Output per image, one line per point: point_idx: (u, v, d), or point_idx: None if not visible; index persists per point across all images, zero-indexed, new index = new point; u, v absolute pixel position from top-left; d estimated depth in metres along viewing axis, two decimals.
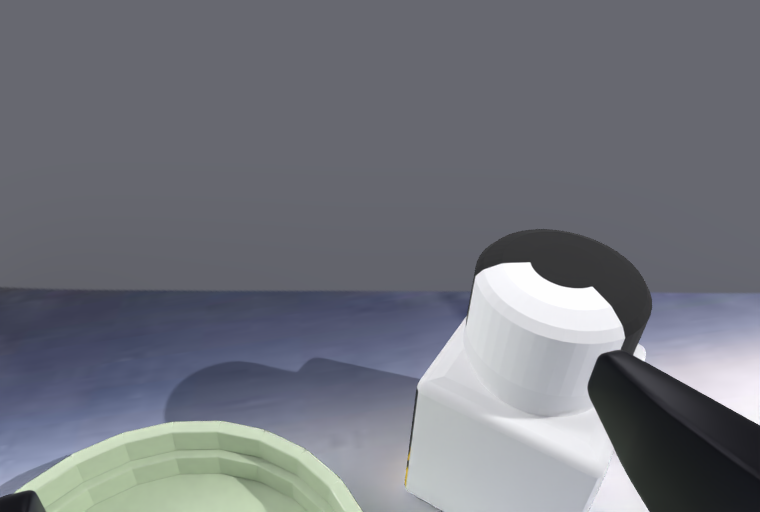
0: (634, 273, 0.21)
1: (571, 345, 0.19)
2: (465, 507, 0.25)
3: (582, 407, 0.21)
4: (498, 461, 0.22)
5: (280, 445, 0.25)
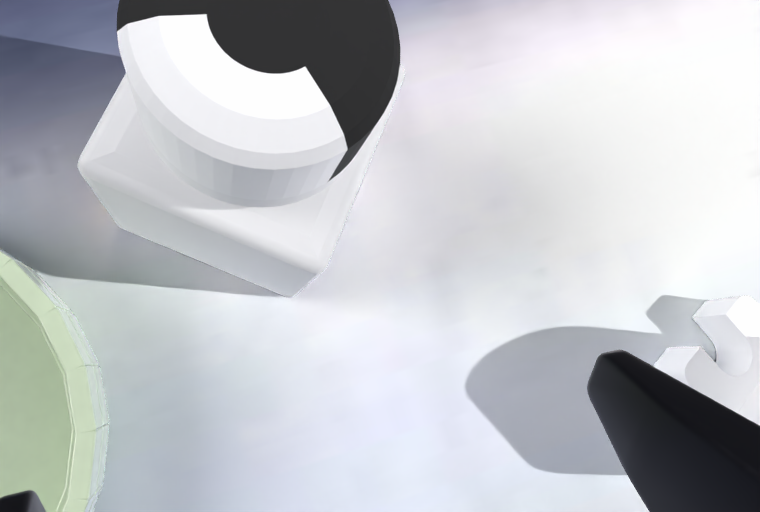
0: (379, 21, 0.13)
1: (268, 170, 0.13)
2: (188, 251, 0.22)
3: (300, 200, 0.16)
4: (208, 240, 0.18)
5: None
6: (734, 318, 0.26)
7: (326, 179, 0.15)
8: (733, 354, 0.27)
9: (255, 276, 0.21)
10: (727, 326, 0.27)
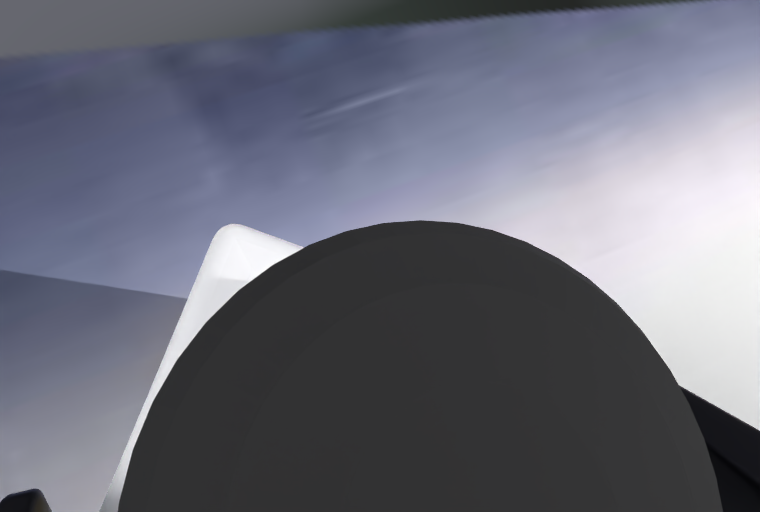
0: (692, 453, 0.06)
1: None
2: None
3: None
4: None
5: None
6: None
7: None
8: None
9: None
10: None
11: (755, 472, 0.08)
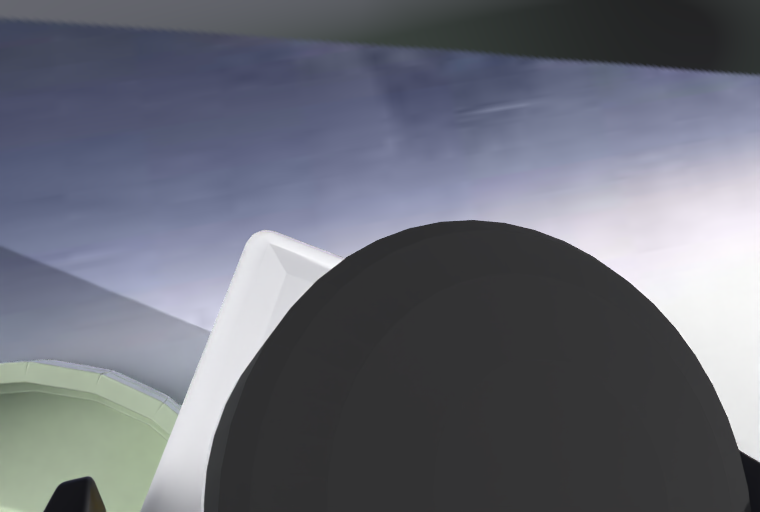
0: (720, 427, 0.07)
1: None
2: None
3: None
4: None
5: (125, 401, 0.18)
6: None
7: None
8: None
9: None
10: None
11: None
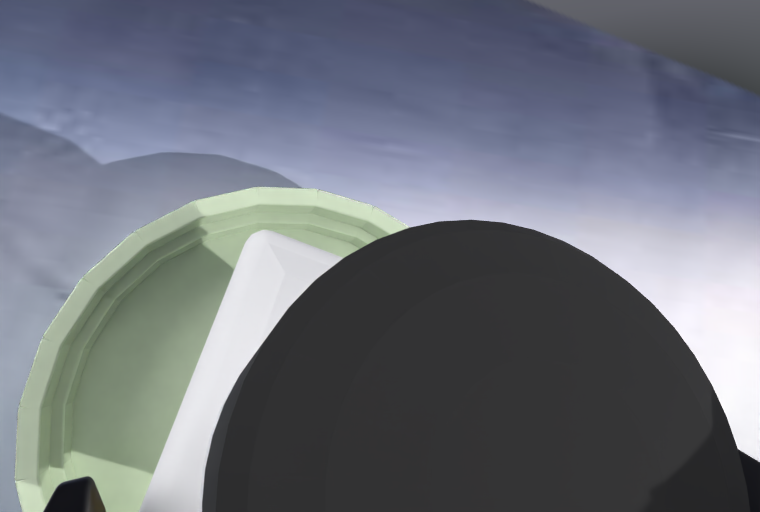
0: (719, 427, 0.07)
1: None
2: None
3: None
4: None
5: None
6: None
7: None
8: None
9: None
10: None
11: None
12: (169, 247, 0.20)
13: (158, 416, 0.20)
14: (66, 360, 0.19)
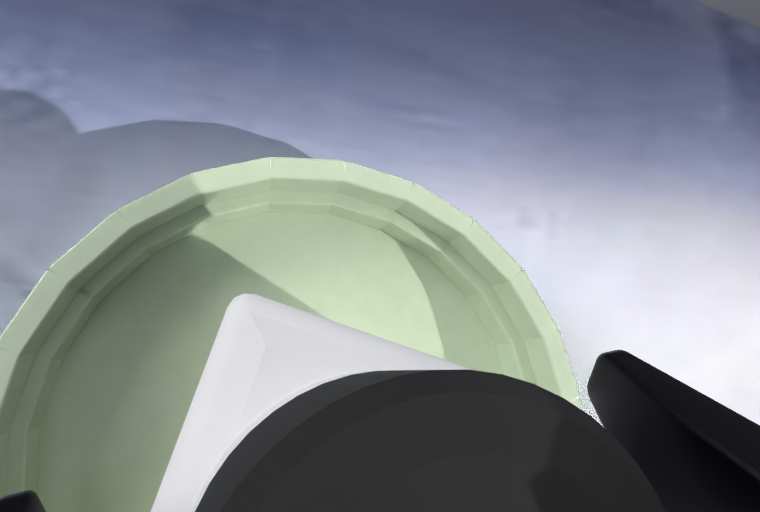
0: None
1: None
2: None
3: None
4: None
5: (490, 253, 0.17)
6: None
7: None
8: None
9: None
10: None
11: None
12: (160, 232, 0.16)
13: (147, 443, 0.16)
14: (29, 374, 0.15)
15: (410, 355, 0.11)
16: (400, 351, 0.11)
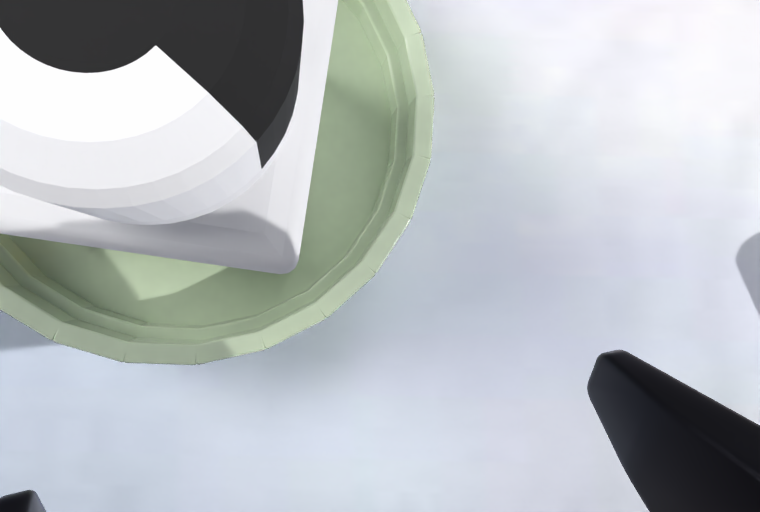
0: None
1: (155, 202, 0.09)
2: None
3: (237, 196, 0.12)
4: None
5: None
6: None
7: (256, 170, 0.11)
8: None
9: None
10: None
11: None
12: None
13: None
14: None
15: None
16: None
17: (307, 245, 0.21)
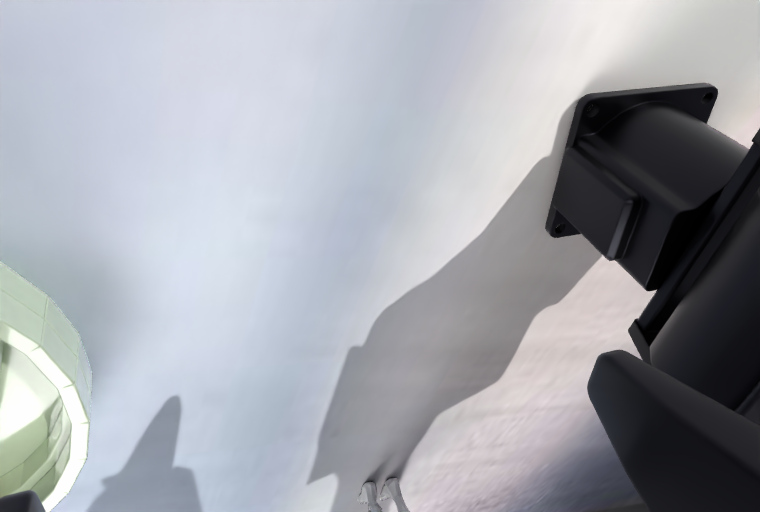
0: None
1: None
2: None
3: None
4: None
5: None
6: None
7: None
8: None
9: None
10: None
11: None
12: None
13: None
14: None
15: None
16: None
17: None
